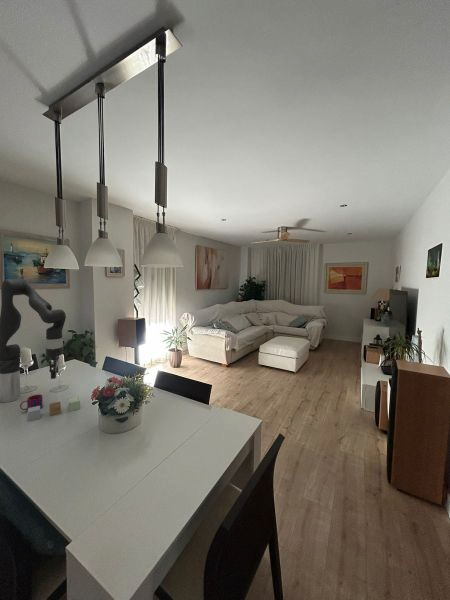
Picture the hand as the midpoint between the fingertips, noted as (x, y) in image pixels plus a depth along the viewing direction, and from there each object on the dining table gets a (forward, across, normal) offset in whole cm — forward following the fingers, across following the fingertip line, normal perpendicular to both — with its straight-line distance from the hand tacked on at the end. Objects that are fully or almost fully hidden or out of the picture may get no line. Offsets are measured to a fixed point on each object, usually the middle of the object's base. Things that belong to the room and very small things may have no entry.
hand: (54, 375), depth 130 cm
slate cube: (+22, +1, -9) cm, 23 cm away
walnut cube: (+22, -1, 0) cm, 22 cm away
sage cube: (+22, -2, +9) cm, 23 cm away
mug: (+22, -10, -12) cm, 27 cm away
